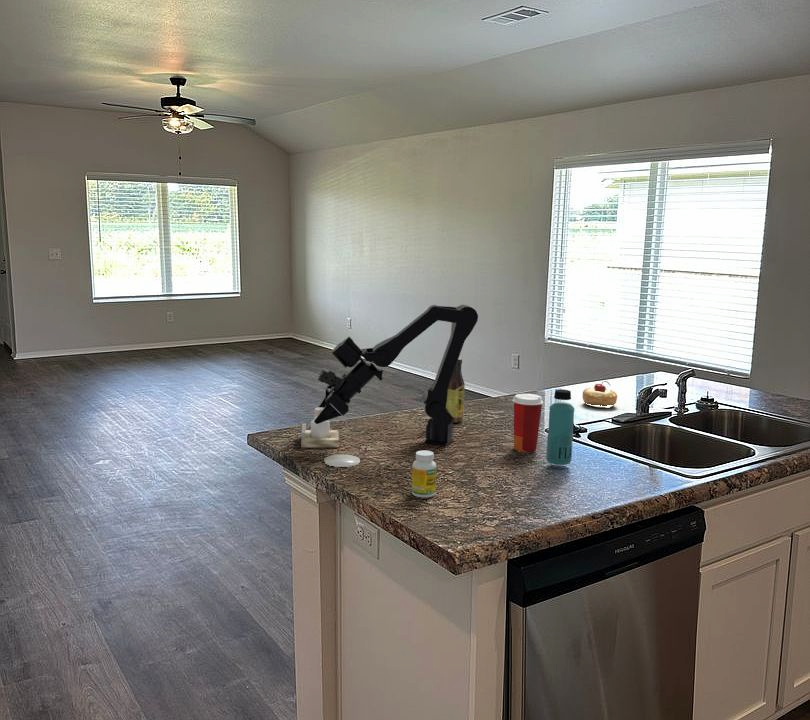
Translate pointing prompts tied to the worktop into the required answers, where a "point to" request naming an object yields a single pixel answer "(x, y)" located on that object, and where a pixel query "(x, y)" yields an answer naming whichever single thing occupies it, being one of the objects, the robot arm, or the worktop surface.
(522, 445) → the coffee cup
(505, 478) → the worktop surface
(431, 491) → the supplement bottle
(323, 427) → the pepper shaker
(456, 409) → the sauce bottle
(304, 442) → the square wooden frame
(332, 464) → the coaster
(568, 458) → the beverage bottle
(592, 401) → the pastry
